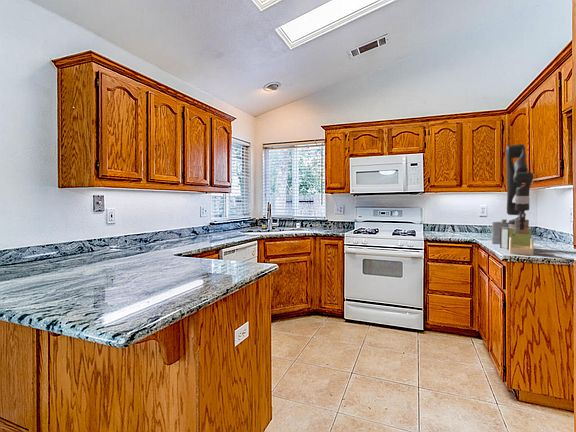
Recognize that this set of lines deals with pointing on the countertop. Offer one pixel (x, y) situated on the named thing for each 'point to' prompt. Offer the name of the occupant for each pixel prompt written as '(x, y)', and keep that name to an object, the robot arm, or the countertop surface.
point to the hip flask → (498, 230)
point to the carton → (521, 248)
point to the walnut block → (517, 227)
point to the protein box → (513, 238)
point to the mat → (545, 254)
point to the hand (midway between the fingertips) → (521, 229)
